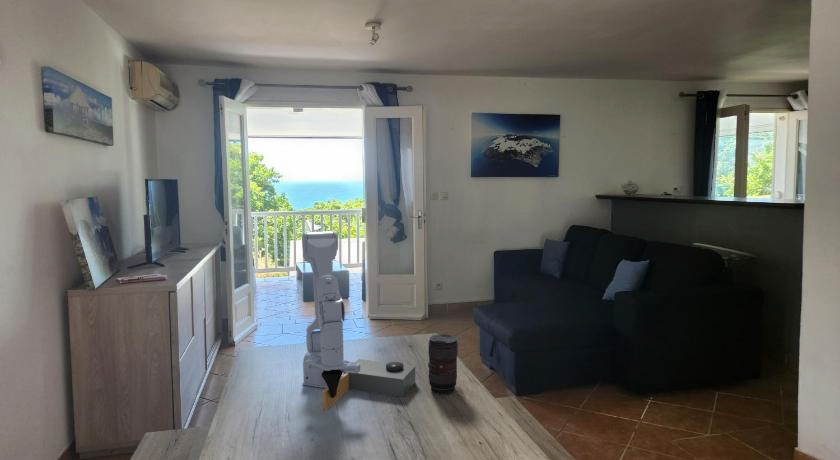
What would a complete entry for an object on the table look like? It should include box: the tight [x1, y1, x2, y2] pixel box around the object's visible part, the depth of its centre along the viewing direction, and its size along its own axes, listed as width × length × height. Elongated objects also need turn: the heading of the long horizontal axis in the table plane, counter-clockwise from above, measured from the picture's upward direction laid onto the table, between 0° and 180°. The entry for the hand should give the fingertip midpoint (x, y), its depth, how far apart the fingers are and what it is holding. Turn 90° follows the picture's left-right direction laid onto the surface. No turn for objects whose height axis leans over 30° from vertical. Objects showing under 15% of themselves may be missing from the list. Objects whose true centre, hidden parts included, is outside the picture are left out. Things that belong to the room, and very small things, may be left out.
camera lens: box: [427, 333, 459, 395], centre depth 146 cm, size 8×8×15 cm
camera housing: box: [342, 358, 416, 398], centre depth 149 cm, size 18×10×6 cm, turn 71°
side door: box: [322, 372, 350, 411], centre depth 140 cm, size 14×2×5 cm, turn 161°
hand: (333, 396), depth 136 cm, fingers closed
